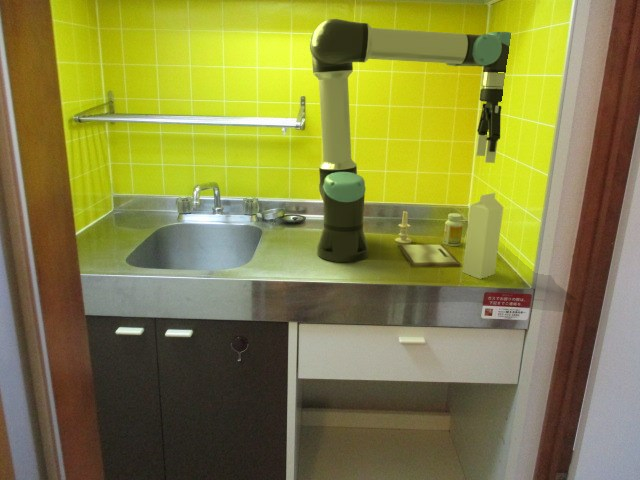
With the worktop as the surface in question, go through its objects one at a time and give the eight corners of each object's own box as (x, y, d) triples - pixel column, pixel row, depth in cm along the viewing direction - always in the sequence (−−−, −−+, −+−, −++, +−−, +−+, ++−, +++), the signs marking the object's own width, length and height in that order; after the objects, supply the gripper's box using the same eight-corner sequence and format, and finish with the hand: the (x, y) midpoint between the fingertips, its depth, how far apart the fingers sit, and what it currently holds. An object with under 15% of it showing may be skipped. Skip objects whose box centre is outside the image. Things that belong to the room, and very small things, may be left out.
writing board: (411, 267, 138) (411, 263, 138) (397, 247, 154) (398, 243, 154) (460, 266, 139) (460, 262, 139) (441, 246, 155) (442, 243, 155)
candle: (410, 239, 162) (412, 208, 159) (412, 244, 157) (415, 212, 154) (394, 238, 162) (396, 207, 159) (396, 243, 157) (398, 212, 154)
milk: (494, 275, 133) (506, 195, 126) (480, 279, 130) (491, 198, 123) (475, 267, 138) (486, 190, 131) (461, 272, 135) (471, 193, 128)
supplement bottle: (439, 243, 158) (442, 214, 155) (450, 240, 161) (452, 211, 158) (453, 247, 154) (456, 218, 151) (464, 244, 157) (467, 215, 154)
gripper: (518, 89, 136) (507, 166, 143) (497, 87, 160) (488, 153, 166) (490, 88, 137) (480, 165, 143) (473, 86, 160) (465, 152, 167)
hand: (484, 159), depth 155 cm, fingers open, 13 cm apart
